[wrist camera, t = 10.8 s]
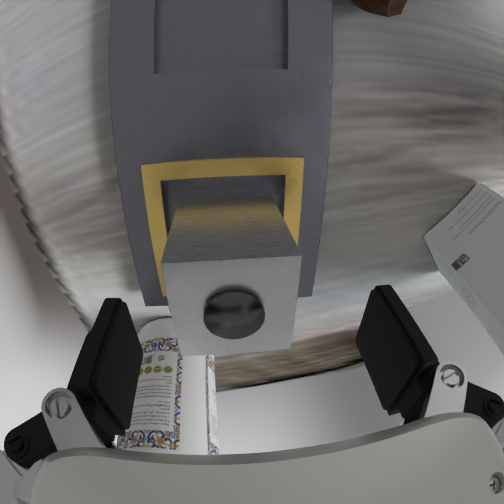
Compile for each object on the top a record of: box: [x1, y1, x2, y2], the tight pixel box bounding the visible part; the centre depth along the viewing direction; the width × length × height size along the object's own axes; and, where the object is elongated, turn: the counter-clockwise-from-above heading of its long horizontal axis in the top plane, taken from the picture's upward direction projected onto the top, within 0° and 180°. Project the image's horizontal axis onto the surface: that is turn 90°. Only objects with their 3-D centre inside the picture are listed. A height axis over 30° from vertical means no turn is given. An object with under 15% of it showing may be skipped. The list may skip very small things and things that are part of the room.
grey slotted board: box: [109, 0, 333, 306], centre depth 15 cm, size 12×24×2 cm, turn 0°
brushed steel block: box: [160, 186, 302, 356], centre depth 15 cm, size 5×5×8 cm
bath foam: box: [117, 318, 219, 455], centre depth 16 cm, size 7×7×20 cm
